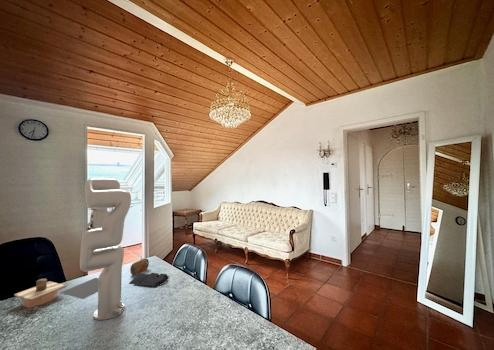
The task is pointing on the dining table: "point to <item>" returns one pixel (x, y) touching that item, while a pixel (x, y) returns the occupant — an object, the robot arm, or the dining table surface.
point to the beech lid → (40, 290)
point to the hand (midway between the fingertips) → (99, 236)
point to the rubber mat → (83, 289)
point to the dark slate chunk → (149, 280)
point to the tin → (139, 266)
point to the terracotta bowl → (39, 300)
